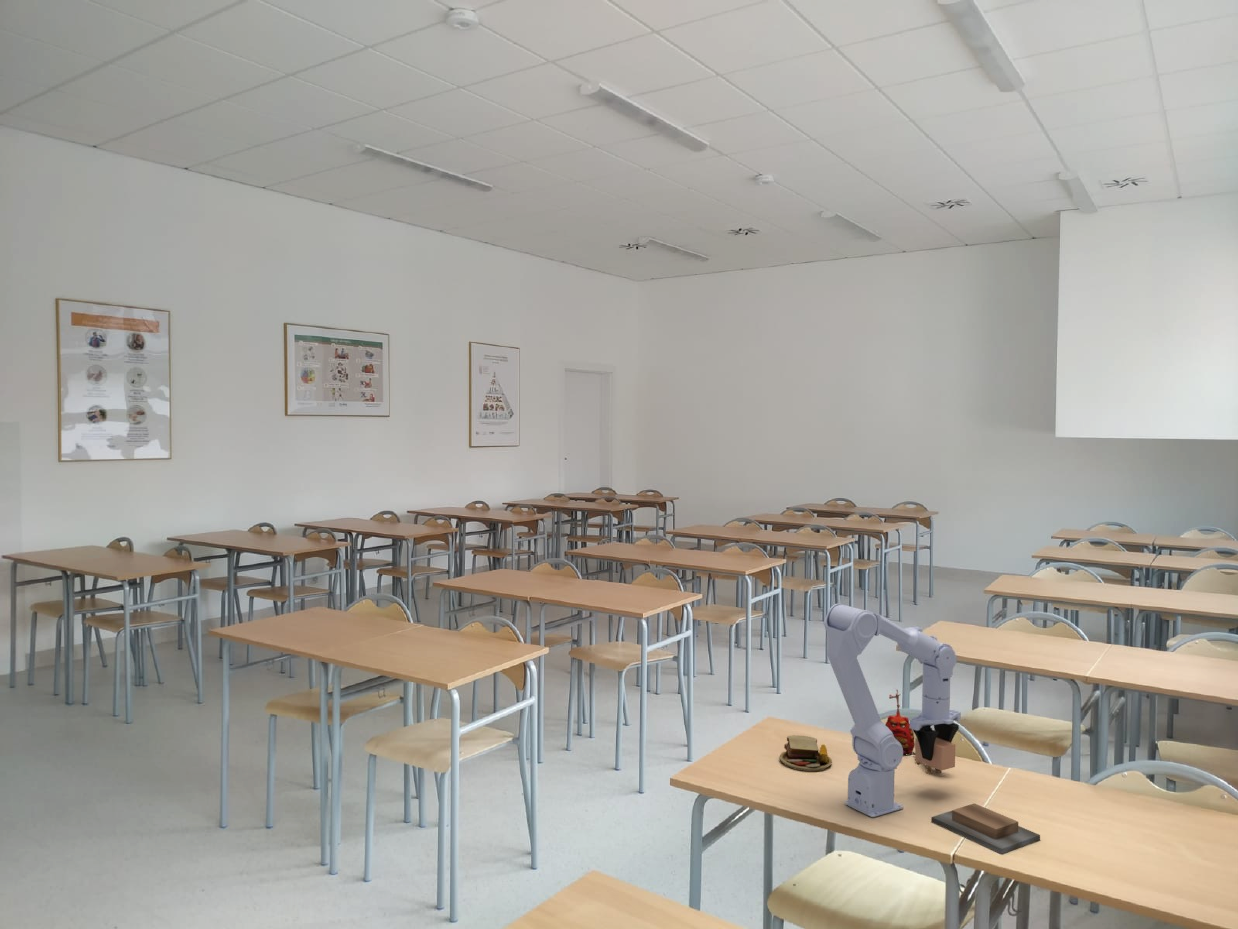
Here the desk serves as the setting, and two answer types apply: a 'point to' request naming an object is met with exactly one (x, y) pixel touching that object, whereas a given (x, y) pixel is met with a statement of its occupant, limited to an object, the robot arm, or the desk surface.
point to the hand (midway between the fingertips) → (934, 757)
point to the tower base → (987, 840)
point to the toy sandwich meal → (805, 754)
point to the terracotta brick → (938, 755)
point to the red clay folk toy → (901, 729)
